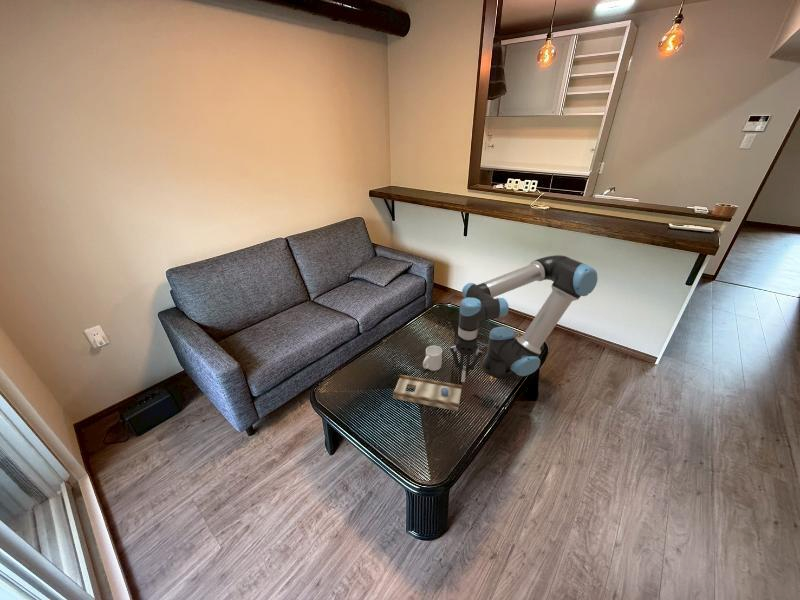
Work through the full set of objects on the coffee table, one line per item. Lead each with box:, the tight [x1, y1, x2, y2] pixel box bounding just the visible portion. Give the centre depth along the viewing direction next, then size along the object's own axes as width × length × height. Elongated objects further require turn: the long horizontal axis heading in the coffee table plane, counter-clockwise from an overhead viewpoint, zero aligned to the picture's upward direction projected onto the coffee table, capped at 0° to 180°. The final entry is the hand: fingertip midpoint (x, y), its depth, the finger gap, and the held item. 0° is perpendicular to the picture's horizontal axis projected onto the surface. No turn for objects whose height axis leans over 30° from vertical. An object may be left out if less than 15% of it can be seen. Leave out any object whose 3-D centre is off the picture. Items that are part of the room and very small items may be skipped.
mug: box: [422, 345, 443, 372], centre depth 156 cm, size 12×8×10 cm
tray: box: [392, 374, 463, 412], centre depth 141 cm, size 30×12×4 cm, turn 74°
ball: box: [441, 387, 449, 395], centre depth 137 cm, size 4×4×4 cm
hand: (463, 379), depth 131 cm, fingers closed
